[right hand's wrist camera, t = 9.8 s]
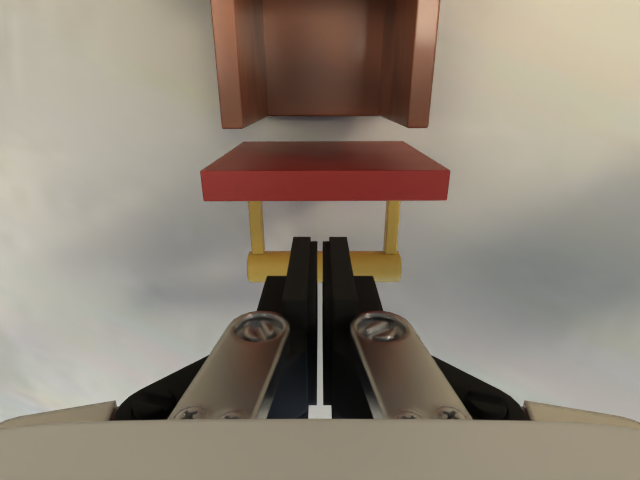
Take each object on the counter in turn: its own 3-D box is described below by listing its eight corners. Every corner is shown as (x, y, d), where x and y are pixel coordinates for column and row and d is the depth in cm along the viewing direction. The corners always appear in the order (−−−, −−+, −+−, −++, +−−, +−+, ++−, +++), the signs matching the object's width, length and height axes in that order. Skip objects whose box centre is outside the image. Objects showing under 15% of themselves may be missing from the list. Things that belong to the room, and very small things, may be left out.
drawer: (395, 244, 25) (432, 319, 17) (250, 244, 25) (217, 320, 17) (427, -181, 18) (522, -421, 9) (219, -180, 18) (131, -419, 9)
